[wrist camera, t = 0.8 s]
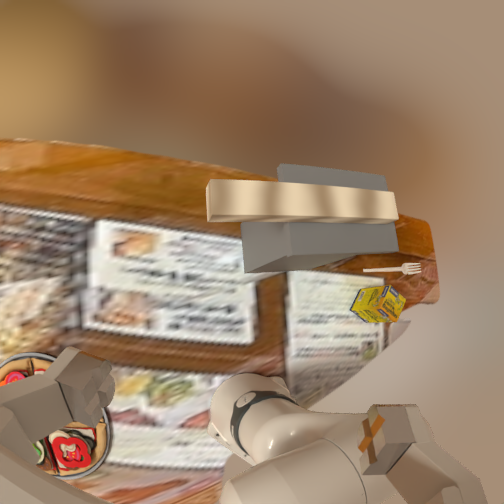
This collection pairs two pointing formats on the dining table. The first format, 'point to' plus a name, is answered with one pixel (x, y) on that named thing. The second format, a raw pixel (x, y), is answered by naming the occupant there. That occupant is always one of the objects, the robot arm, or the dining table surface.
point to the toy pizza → (68, 437)
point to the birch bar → (296, 203)
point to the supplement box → (378, 304)
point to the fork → (396, 269)
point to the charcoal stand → (315, 228)
